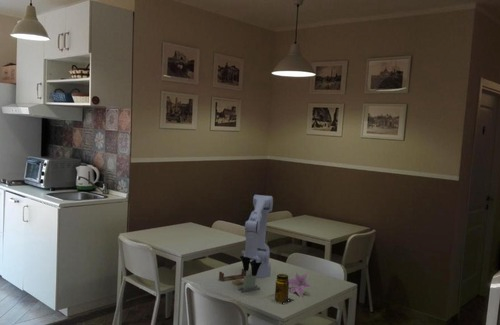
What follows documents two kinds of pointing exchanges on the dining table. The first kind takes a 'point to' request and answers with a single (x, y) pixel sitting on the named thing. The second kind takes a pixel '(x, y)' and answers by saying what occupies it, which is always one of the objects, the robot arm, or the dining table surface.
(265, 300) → the dining table surface
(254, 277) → the sheet
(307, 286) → the lily
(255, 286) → the stand
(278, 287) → the condiment
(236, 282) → the offcut upper
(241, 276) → the rack
